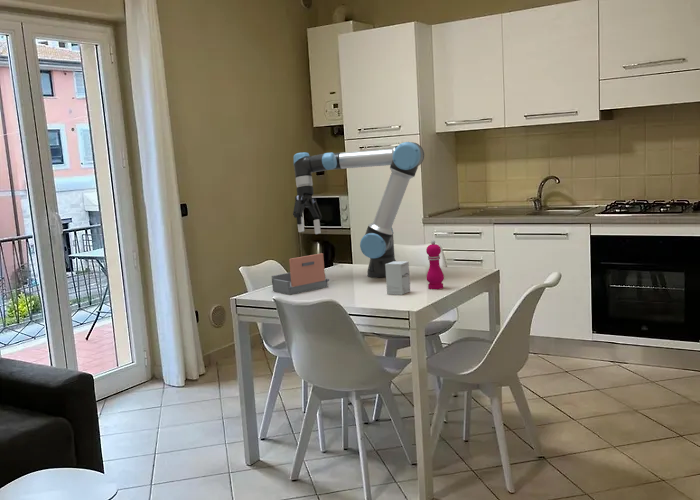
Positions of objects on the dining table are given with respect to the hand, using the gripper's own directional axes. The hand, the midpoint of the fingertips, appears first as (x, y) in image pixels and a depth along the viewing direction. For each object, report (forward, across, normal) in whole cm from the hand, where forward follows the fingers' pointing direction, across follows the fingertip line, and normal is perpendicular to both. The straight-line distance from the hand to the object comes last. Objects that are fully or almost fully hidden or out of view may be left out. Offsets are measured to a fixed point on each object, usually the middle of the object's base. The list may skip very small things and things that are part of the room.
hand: (309, 232), depth 317 cm
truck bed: (+25, +6, -4) cm, 26 cm away
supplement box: (+33, +6, +43) cm, 55 cm away
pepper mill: (+33, -5, +55) cm, 64 cm away
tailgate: (+24, +9, +2) cm, 25 cm away
